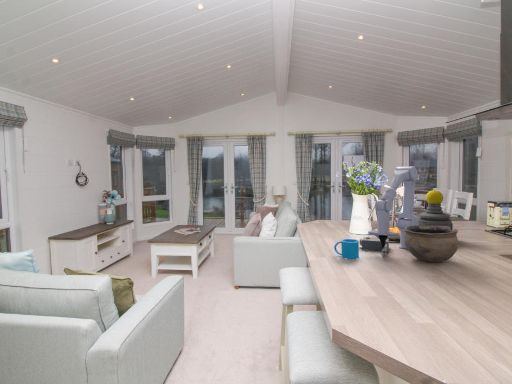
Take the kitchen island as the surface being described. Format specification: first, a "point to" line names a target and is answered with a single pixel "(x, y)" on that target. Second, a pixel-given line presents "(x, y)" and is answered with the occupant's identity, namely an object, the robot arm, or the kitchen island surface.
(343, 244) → the mug
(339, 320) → the kitchen island surface
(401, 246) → the robot arm
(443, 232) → the ceramic bowl
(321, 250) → the kitchen island surface
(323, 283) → the kitchen island surface
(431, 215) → the decorative lamp
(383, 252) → the side door
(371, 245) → the camera body
